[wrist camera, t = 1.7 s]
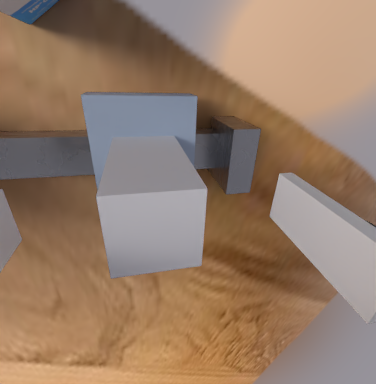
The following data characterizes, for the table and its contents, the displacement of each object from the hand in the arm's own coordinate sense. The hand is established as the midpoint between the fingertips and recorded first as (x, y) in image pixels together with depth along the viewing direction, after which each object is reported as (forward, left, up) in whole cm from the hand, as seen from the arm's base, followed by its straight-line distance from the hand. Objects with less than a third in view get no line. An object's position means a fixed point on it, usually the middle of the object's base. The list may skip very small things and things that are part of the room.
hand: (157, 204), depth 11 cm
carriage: (0, 0, -10) cm, 10 cm away
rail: (-4, 0, -10) cm, 11 cm away
